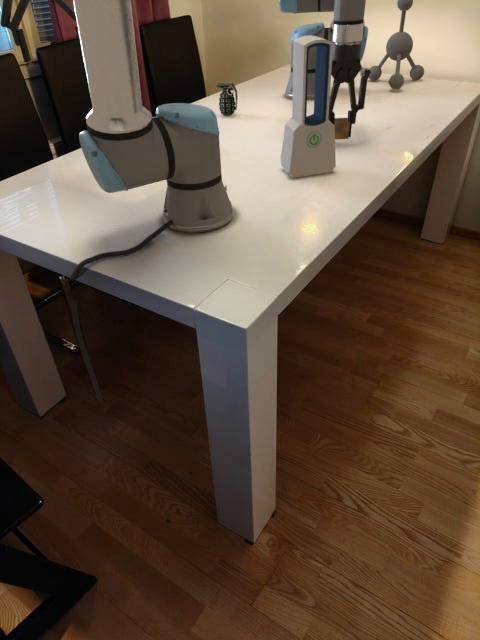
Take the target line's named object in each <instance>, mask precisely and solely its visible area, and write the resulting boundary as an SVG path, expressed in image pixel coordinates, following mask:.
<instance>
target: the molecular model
mask: <svg viewBox="0 0 480 640" xmlns="http://www.w3.org/2000/svg"><path fill="white" fill-rule="evenodd" d="M396 5H397V8H398V10H399V11H401V15H400V21H399V22H400V23H399V28H398V29H399V30H398V31H397V32H394V33H393V34H392V35H391V36H390V37H389V38H388V40H387V42H386V45H385V52H386V53H385V55H384V57H382V59H381V61H380V62H379V64H378V65H371V67H370V68H368V69H369V70H370V71H371V73H370V75H369V77H368V79H369V80H370V81H372V82H376V81H378V80H379V79H380V78H381V77H382V72H383V71H382V67H383V65H384V64H385V63H386V61H387V60H388V59H390V60H392V61H395V71H394V72H395V73H394V74H392V75H391V76H390V77H389V79H388V86H389V87H390V88H391V90H395V91H396V90H399V89H401V88H402V87H403V86H404V85H405V77H404V76H403V74H401V72H400V71H401V61H404V60H405V59H406V60H407V62H408V63H409V65H410V67H411V68H410V70H409V78H410V79H411V80H413V81H419V80H421V78H423V77H424V74H425V68H424V67H423V65H421V64H416V63H415V61H414V60H413V58H412V56H411V53H412V51H413V47H414V41H413V40H414V39H413V37H412V36H411V35H410V34H409V33H408V32H407V31H404V28H405V22H406V14H407V11H409V10H410V9H411V8H412V6H413V5H414V0H397V2H396Z"/></svg>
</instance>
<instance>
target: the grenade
mask: <svg viewBox="0 0 480 640" xmlns="http://www.w3.org/2000/svg"><path fill="white" fill-rule="evenodd" d="M215 87H217V88H219V89H221V93H219V97H218V101H219V102H218V106H219V108H218V109H219V112H220V114H221V115H222V116H224V117H231V116H233V115H234V113H235V112H236V111H237V108H238V89H237V87H236V85H235V84H234V83H233V82H218V83H217V84H216V86H215ZM232 91H233V92H232ZM234 94H235V96H234Z"/></svg>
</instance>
